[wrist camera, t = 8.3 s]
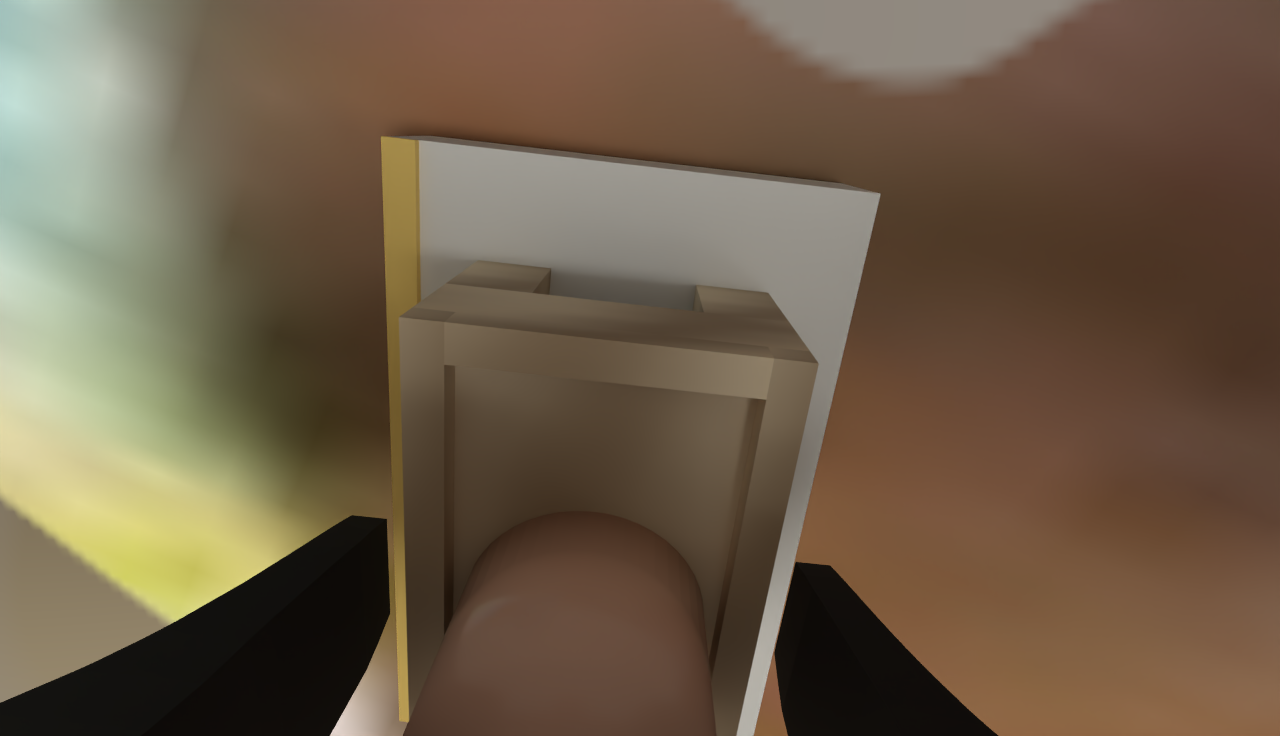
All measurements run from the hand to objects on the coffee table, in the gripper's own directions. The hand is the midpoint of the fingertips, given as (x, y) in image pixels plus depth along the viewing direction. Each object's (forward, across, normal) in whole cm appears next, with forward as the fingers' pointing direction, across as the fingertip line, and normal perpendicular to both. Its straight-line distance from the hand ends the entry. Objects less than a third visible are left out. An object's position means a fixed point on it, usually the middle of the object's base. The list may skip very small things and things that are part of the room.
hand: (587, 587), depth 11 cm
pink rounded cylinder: (-1, 0, 0) cm, 1 cm away
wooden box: (+3, 0, 0) cm, 3 cm away
